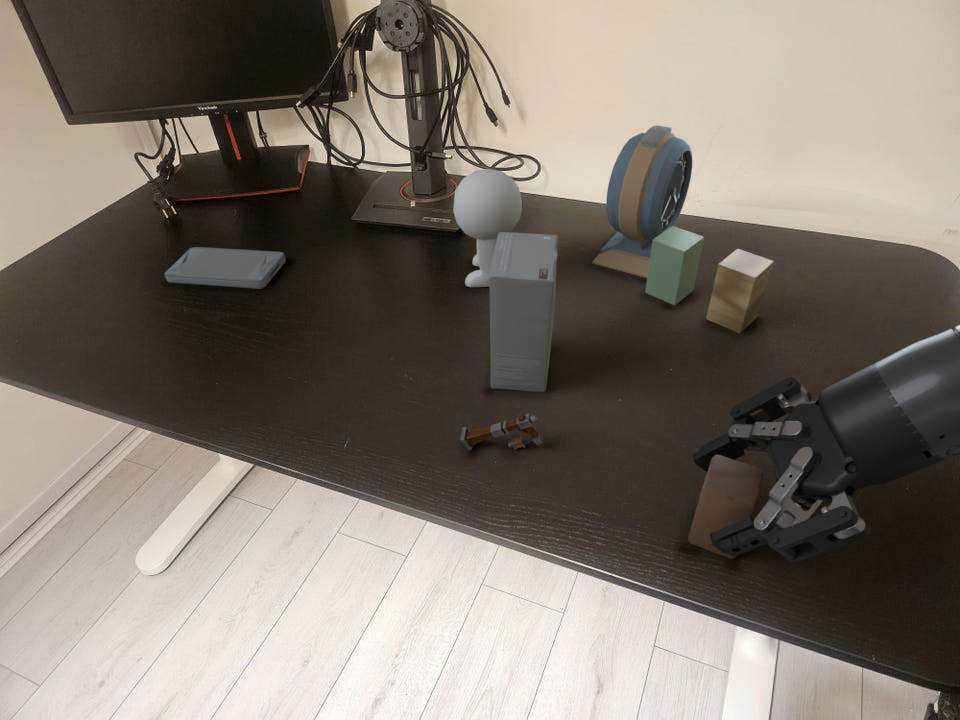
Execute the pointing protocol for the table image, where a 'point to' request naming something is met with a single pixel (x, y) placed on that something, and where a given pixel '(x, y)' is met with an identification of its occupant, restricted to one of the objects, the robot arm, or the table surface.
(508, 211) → the toy character
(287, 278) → the table surface
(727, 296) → the line block
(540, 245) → the cosmetic box
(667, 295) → the line block
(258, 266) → the phone
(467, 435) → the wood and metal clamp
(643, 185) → the alarm clock
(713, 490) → the wooden block
